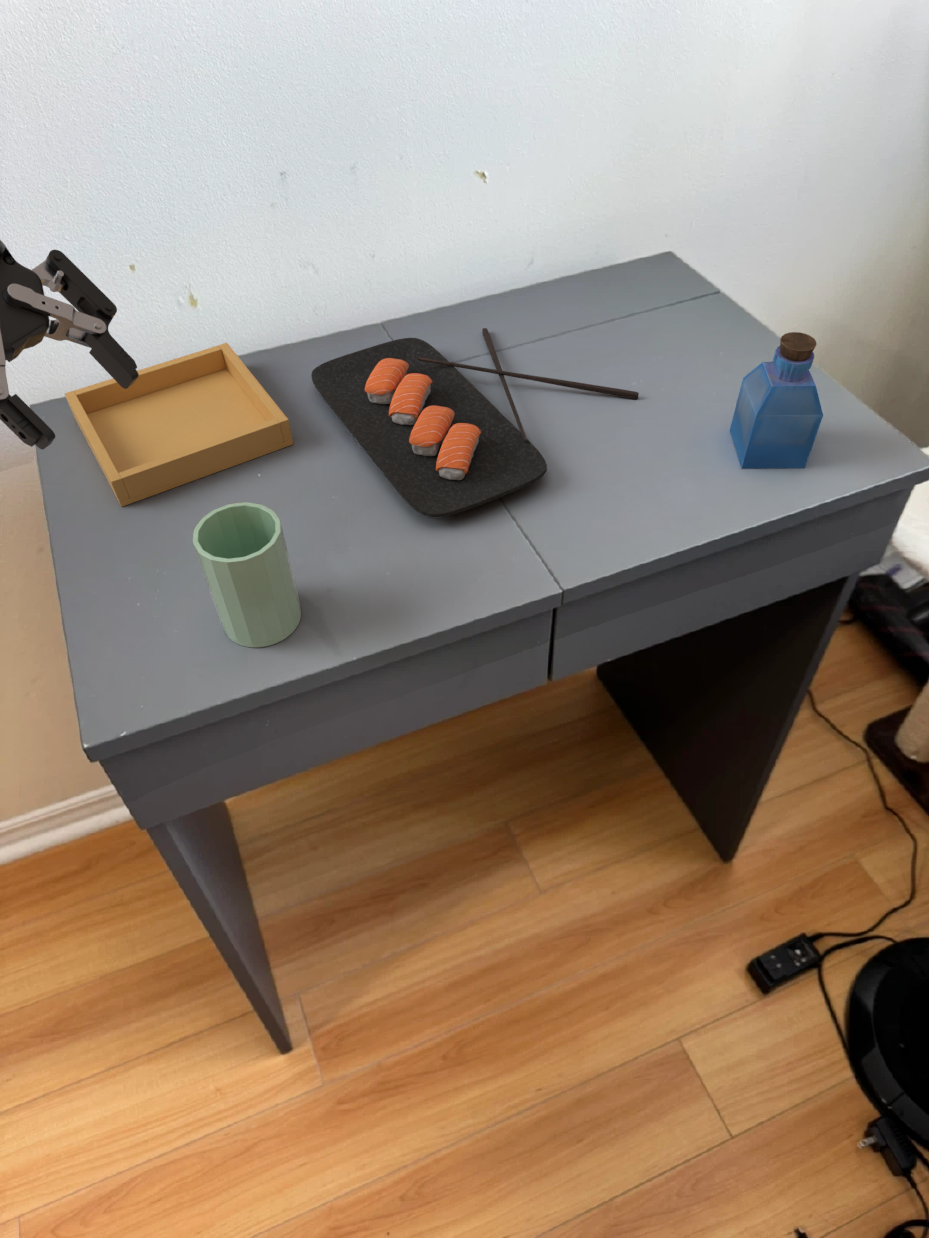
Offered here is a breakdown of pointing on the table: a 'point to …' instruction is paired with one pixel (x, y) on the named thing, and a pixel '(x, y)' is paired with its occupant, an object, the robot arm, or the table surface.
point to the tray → (178, 422)
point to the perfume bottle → (778, 408)
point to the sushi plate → (434, 424)
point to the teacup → (248, 573)
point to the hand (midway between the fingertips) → (92, 411)
